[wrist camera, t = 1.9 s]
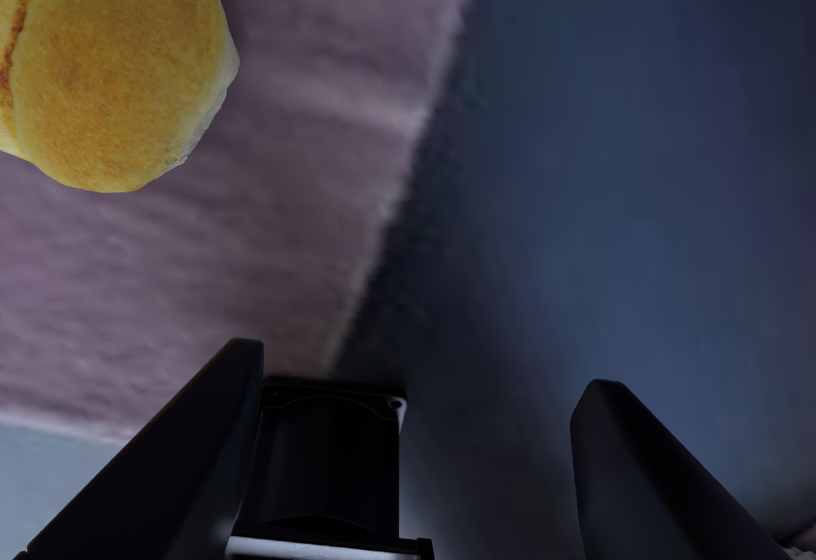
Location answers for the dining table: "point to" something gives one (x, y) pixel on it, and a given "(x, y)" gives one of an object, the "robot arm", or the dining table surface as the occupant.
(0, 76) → the bread roll
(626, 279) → the dining table surface
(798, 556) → the sea urchin shell
